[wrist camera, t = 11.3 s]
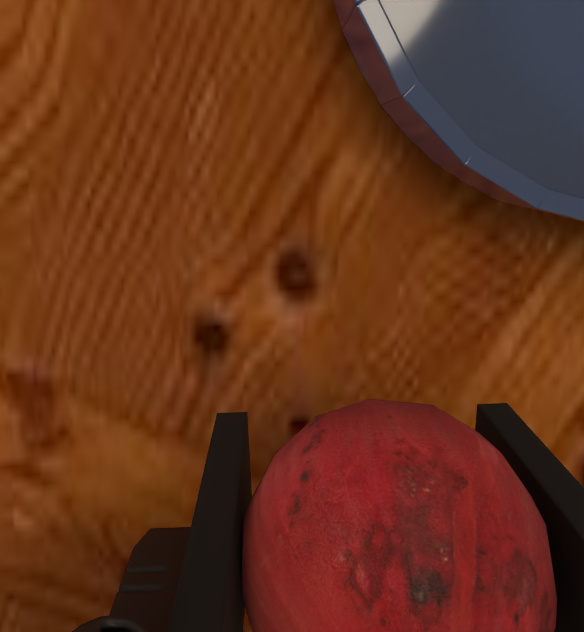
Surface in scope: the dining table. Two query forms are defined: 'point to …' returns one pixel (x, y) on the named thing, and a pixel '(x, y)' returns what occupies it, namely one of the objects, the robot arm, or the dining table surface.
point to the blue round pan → (483, 90)
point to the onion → (394, 530)
